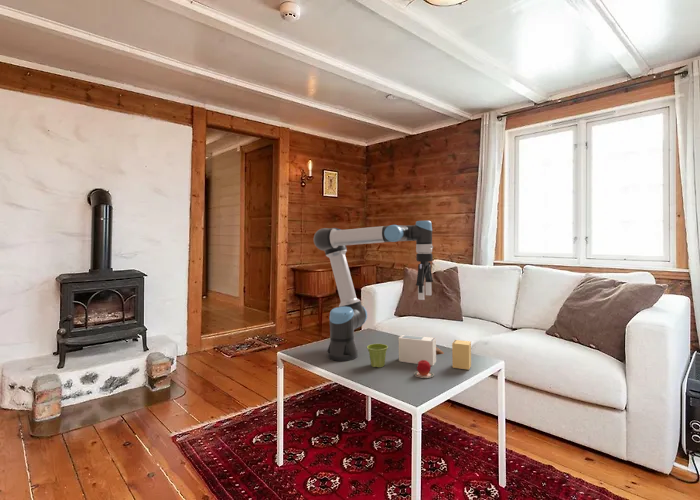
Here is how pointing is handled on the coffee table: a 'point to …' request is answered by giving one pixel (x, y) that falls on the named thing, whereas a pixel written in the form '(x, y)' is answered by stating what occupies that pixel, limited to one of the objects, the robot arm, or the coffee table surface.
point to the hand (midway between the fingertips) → (425, 297)
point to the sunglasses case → (438, 351)
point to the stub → (461, 354)
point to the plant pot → (377, 354)
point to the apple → (423, 370)
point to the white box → (417, 349)
